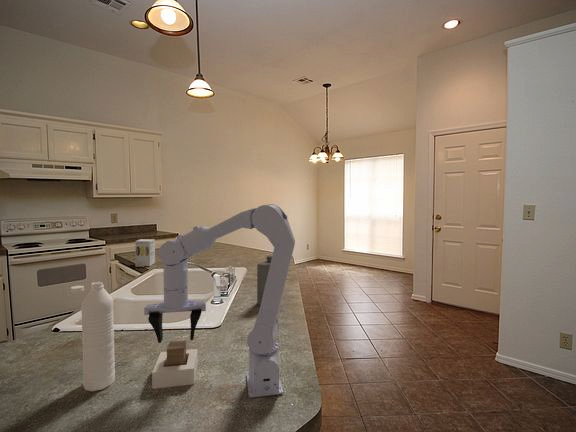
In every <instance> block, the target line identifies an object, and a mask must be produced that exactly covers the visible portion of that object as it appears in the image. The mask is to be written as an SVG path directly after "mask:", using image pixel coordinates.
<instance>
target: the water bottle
mask: <svg viewBox="0 0 576 432" xmlns="http://www.w3.org/2000/svg"><path fill="white" fill-rule="evenodd" d="M103 283H104V282H103V281H95V282H92V283H91V286H90V290H89V292H88V293H87V294H86V296H85V298H84V299H83V300H82V303H81V305H80V308H81V309H80V310H81V334H82V338H81V339H82V340H81V343H82V348H81V349H82V368H83V369H82V371H83V373H82V375H83V384H82V385H83V389H84V390H85V391H87V392H88V391H89V392H97V391H100V390H104V389H106V388H107V387H110V386H111V385H112V384H113V383H114V382H115V379H116V369H115V368H116V366H115V365H116V364H115V358H116V357H115V330H114V328H115V324H114V300H113V297H112V295H111V294H110V293H108V291H107V289H105V288H104V286H105V285H104V284H103ZM84 291H85V286H84V285H74V286H71V287H70V293H73V294H77V293H81V292H84Z"/></svg>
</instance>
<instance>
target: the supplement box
mask: <svg viewBox="0 0 576 432" xmlns="http://www.w3.org/2000/svg"><path fill="white" fill-rule="evenodd" d="M134 244H135V250H134V253H135V254H134V257H135V262H134V263H135V265H134V266H135V267H136V268H137V267H139V268H140V267H141V268H142V267H143V268H145V267H144V266H150V267H152V266H153V265H152V264H154V263H155V264H156V239H154V238H153V239H152V238H151V239H148V238H145V239H143V238H141V239H138V240H135V243H134ZM155 264H154V265H155ZM151 265H152V266H151Z"/></svg>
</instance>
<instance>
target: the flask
mask: <svg viewBox="0 0 576 432" xmlns="http://www.w3.org/2000/svg"><path fill="white" fill-rule="evenodd" d="M265 259H266V260H265V261H262V262H258V263H257V265H256V266H257V268H256V271H257V273H256V276H257V277H256V282H257V283H256V284H257V285H256V304H257V305H258V306H261V301H262V297H263V293H264V289H265V284H266V280H267V276H268V272H269V268H270V263H271V259H272V255H267V256H266V258H265Z"/></svg>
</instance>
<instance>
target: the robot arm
mask: <svg viewBox="0 0 576 432" xmlns="http://www.w3.org/2000/svg"><path fill="white" fill-rule="evenodd" d="M241 229H247V230H248V229H249V230H252V229H256V231H258V232H259V233H260V234H262V235H264V236H265V237H266V238H267V239H268V241H269V242H270V244H271V245H272V246H273V250H272V251H273V252H272V255H271V256H272V259H271V263H270V268H269V272H268V276H267V280H266V284H265V289H264V293H263V297H262V301H261V305H259V306H260V307H259V310H258V314H257V316H256V319H255V323H254V325H253V327H252V329H251V331H250V332H249V333H248V335H247V340H246V342H247V346H248V371H247V372H246V373H245V374H246V382H247V391H248V393H247V394H248V397H249V398H250V399H251V398H258V397H260V398H261V397H267V396H275V395H283V394H284V390H283V386H282V382H281V379H280V366H279V342H278V339H277V333H278V332H279V329H280V324H279V321H278V320H279V318H278V317H279V314H280V308H281V307H280V306H281V302H282V298H283V295H284V291H285V286H286V281H287V279H288V278H287V277H288V274H289V270H290V269H289V268H290V266H291V261H292V257H293V255H294V250H295V245H296V240H295V236H294V233H293V231H292V228H291V225H290V222H289V219H288V215H287V214H286V213H285V212H284V210H283V209H282V208H281V207H280V206H279V205H276V204H274V203H272V204H271V203H270V204H263V205H260V206H259V205H258V207H255V208H251V209H247V210H244V211H241V212H239V213H236V214H235V215H232V216H231V217H230V218H227V219H225V220H224V221H222V222H219V223H217V224H216V225H213V226H212V227H208V226H206V225H202V226H200V225H196V226H194V227H192V230H191V231H189V232H187V233H185V234H179V235H176V239H173V240H166V241H165V242H164V243H162V244H161V245H160V246H159V249H158V257H159V259H160V261H161V262H162V263H163V269H162V270H163V272H162V275H163V276H162V277H163V302H157V303H151V304H146V305H145V306H144V307H143V308H144V309H143V311H144V312H143V314H144V316H148V318H147V320H148V323H149V324H150V325H151V326H152V329H153V330H154V332H155V333H154V334H155V335H156V339H157V343H158V344H160V343H162V341H163V338H164V337H163V335H164V333H163V331H164V330H163V316H164V315H163V314H167V313H168V314H169V313H181V312H182V313H184V312H190V315H189V319H190V320H189V321H190V334H189V339H190V341H193V340H194V339H195V333H196V331H195V330H196V327H197V325H198V323H199V320H200V319H201V315H202V312H206V311H207V301H206V300H205V301H204V300H203V301H200V300H199V301H198V300H197V301H195V300H189V280H188V279H189V277H188V276H189V272H188V271H189V267H188V265H189V264H188V263H189V261H188V260H189V259H190V258H192V257H194V256H195V255H198V254H200V253H202V252H205V251H206V250H209V249H211V248H213V247H214V246H215V243H216V241H217V240H218V239H220V238H222V237H224V236H226V235H230V234H232V233H233V232H236V231H239V230H241Z"/></svg>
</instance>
